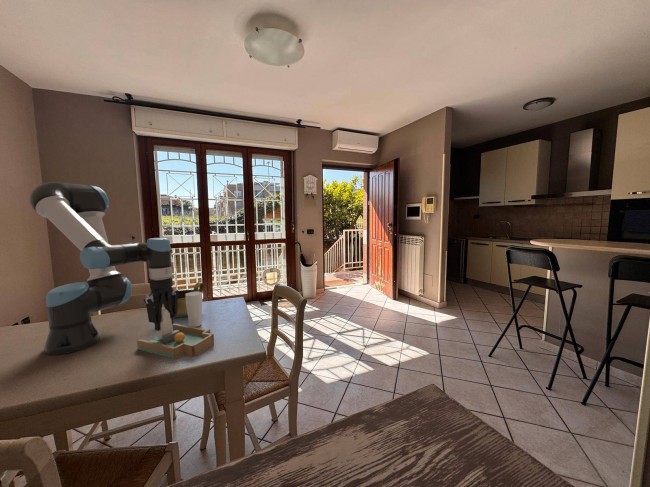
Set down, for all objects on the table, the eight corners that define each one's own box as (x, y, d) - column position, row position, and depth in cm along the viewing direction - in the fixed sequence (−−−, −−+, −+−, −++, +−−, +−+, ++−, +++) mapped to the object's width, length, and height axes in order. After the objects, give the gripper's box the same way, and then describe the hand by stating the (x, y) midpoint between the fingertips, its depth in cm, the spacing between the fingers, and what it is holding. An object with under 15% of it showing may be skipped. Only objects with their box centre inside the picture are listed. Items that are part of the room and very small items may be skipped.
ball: (172, 343, 99) (171, 334, 99) (180, 339, 102) (179, 330, 102) (179, 344, 98) (178, 335, 98) (187, 340, 101) (186, 331, 101)
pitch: (137, 349, 97) (136, 339, 96) (175, 331, 112) (174, 322, 111) (186, 361, 89) (185, 350, 88) (219, 340, 104) (219, 331, 103)
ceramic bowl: (170, 326, 117) (168, 294, 116) (151, 318, 126) (149, 288, 124) (213, 310, 136) (212, 283, 135) (194, 305, 145) (192, 279, 143)
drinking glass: (196, 329, 114) (195, 296, 113) (183, 327, 116) (181, 295, 114) (206, 322, 121) (205, 291, 119) (194, 321, 122) (192, 290, 121)
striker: (155, 340, 100) (152, 311, 99) (168, 333, 106) (167, 306, 105) (166, 343, 98) (164, 313, 97) (180, 336, 104) (178, 307, 103)
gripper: (147, 283, 91) (152, 346, 94) (185, 274, 107) (188, 328, 109) (133, 281, 94) (137, 343, 96) (172, 272, 109) (175, 326, 111)
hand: (164, 335), depth 103 cm, fingers closed on striker, 3 cm apart
